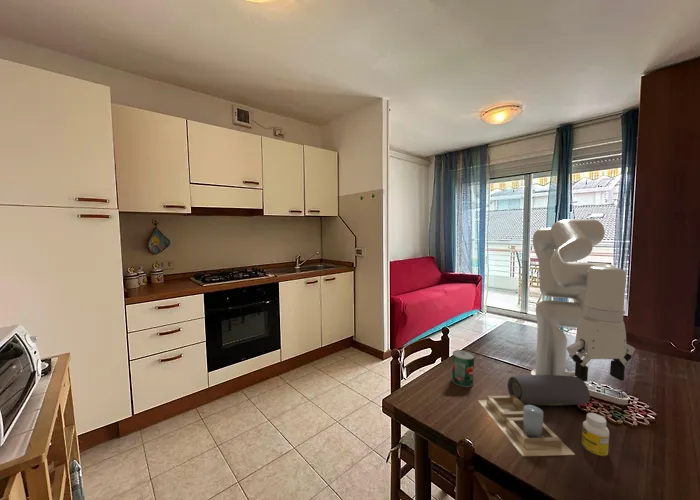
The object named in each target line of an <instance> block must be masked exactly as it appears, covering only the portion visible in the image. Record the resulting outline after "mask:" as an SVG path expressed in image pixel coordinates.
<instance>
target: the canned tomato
mask: <svg viewBox="0 0 700 500" xmlns="http://www.w3.org/2000/svg"><path fill="white" fill-rule="evenodd" d="M451 360H452V368H451V371H452V372H451V382H453V384H455V385H457V386H458V387H462V388H469V387H473V386H474V378H475V377H474V373H475V355H474V353H473V352H470V351H467V350H464V349H463V350H462V349H457V350H453V352H452V359H451Z"/></svg>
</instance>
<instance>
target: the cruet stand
mask: <svg viewBox="0 0 700 500" xmlns="http://www.w3.org/2000/svg"><path fill="white" fill-rule="evenodd" d="M477 401H478V403H479V404H480V405H481V407H483V410H484V411H485V412H486V413H487V414H488V415H489V417H491V419H492V420H493V421H494V423H495V424H496V426H498V427H499V429H500V430H501V432H502V433H503V434H504V435H505V436H506V438H507V439H508V440H509V441H510V443H511V444H512V445H513V447H515V449H516V450H517V452H518V453H519V454H520V455H521V456H522V457H545V456H546V457H548V456H575V455H576V454H575V453H574V452H573V450H571V449H570V448H569V447H568V446H567V445H566V444H565V443H564V442H563V440H562V439H561V438H560V437H559V436H558V435H556V433H555V432H554V431H552V430H551V428H550V427H548V426H547V425H546V424H545V423H544V422H543V430H542V438H528V437H527V436H526V435H525V433H524V432H523V414H524V406H525V405H526V404H523V403H522V402H521V401H520V400H519V399H518V398H517V397H516V396H515V395H512V396H510V395H487V396H486V399H478V400H477Z"/></svg>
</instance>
